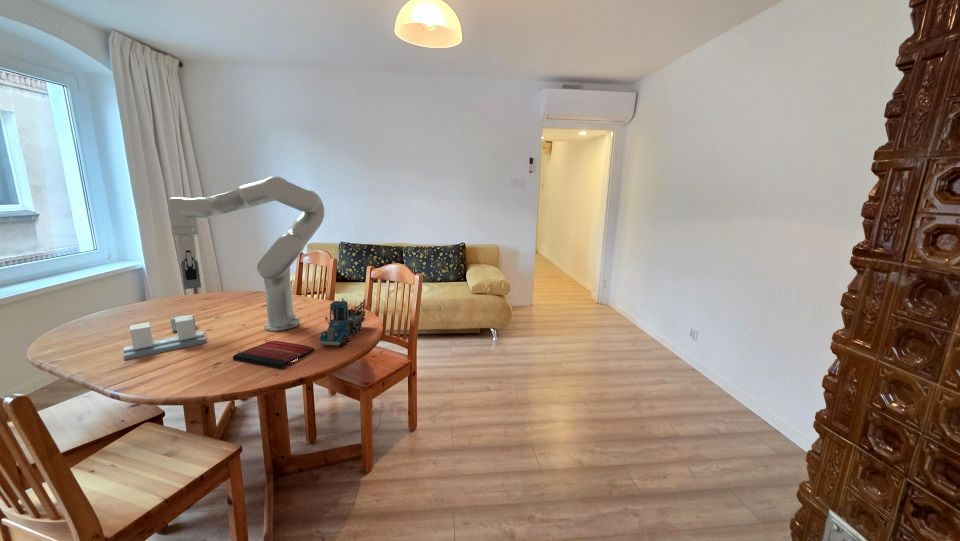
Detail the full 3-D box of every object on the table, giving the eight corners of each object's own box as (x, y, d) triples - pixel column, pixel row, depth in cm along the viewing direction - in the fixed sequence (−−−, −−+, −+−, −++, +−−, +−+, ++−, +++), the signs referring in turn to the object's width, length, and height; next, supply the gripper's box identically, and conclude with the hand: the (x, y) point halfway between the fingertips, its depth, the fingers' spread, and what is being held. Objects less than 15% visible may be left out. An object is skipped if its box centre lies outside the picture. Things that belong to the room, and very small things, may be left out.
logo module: (200, 284, 143) (196, 258, 141) (201, 287, 139) (197, 260, 137) (183, 285, 140) (180, 259, 138) (184, 289, 136) (180, 261, 133)
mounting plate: (202, 334, 143) (202, 331, 142) (206, 342, 135) (205, 338, 135) (125, 350, 128) (124, 346, 128) (124, 360, 121) (123, 355, 121)
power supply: (195, 326, 151) (194, 315, 150) (187, 330, 146) (185, 319, 145) (180, 326, 150) (178, 315, 149) (172, 330, 146) (170, 319, 145)
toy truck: (315, 349, 132) (311, 310, 129) (343, 324, 156) (341, 291, 153) (343, 350, 131) (341, 311, 128) (368, 325, 156) (366, 292, 152)
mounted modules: (194, 332, 139) (191, 314, 137) (196, 336, 135) (193, 319, 133) (133, 344, 128) (130, 325, 126) (133, 349, 123) (129, 330, 122)
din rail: (203, 333, 140) (203, 331, 140) (204, 336, 137) (204, 334, 137) (124, 349, 125) (123, 347, 125) (124, 352, 123) (123, 350, 123)
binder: (282, 364, 116) (231, 355, 122) (282, 370, 117) (232, 361, 123) (317, 346, 131) (271, 338, 137) (317, 352, 132) (271, 344, 138)
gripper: (171, 229, 139) (177, 274, 143) (172, 233, 126) (179, 284, 130) (196, 228, 144) (201, 272, 147) (199, 232, 131) (205, 281, 135)
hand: (191, 277), depth 139 cm, fingers closed on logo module, 6 cm apart
